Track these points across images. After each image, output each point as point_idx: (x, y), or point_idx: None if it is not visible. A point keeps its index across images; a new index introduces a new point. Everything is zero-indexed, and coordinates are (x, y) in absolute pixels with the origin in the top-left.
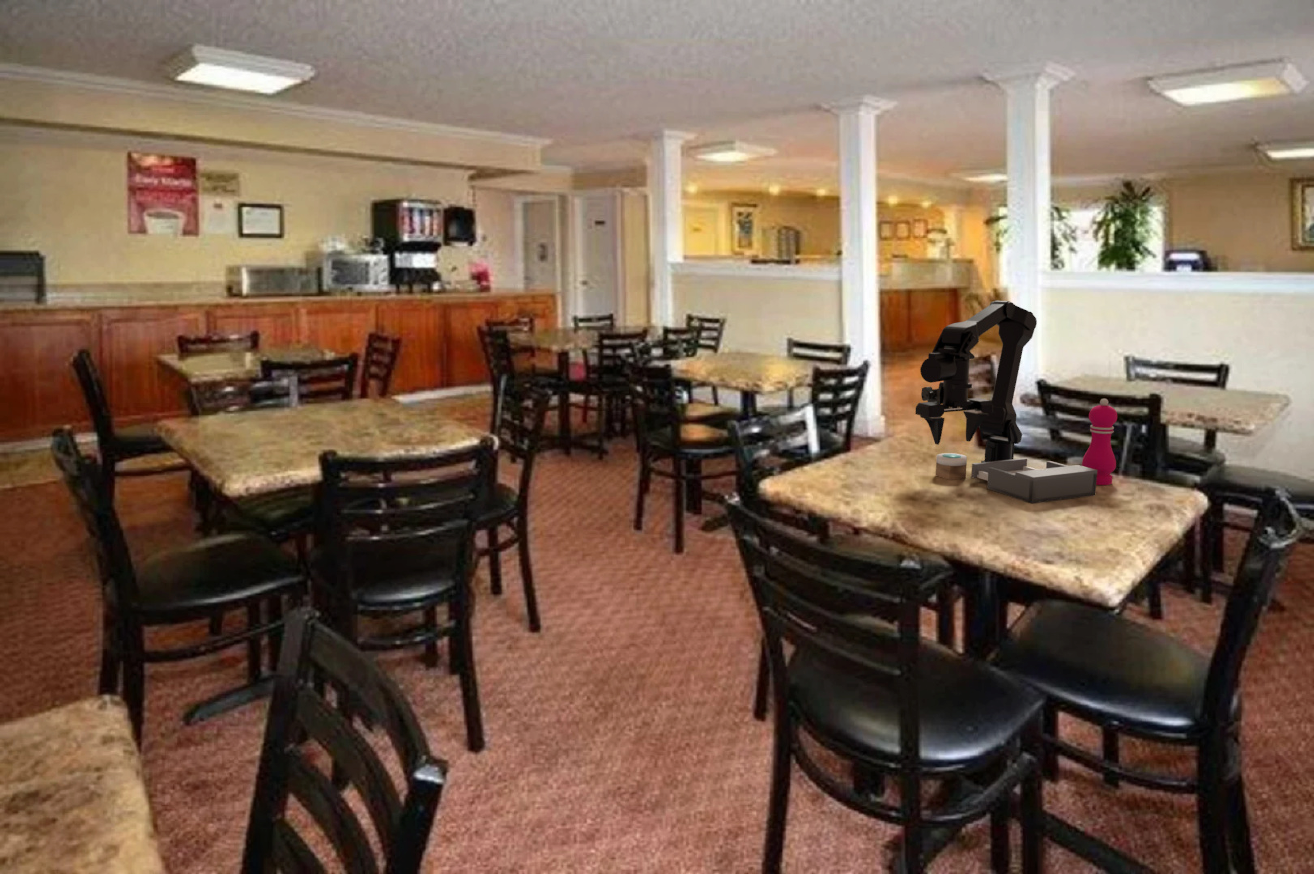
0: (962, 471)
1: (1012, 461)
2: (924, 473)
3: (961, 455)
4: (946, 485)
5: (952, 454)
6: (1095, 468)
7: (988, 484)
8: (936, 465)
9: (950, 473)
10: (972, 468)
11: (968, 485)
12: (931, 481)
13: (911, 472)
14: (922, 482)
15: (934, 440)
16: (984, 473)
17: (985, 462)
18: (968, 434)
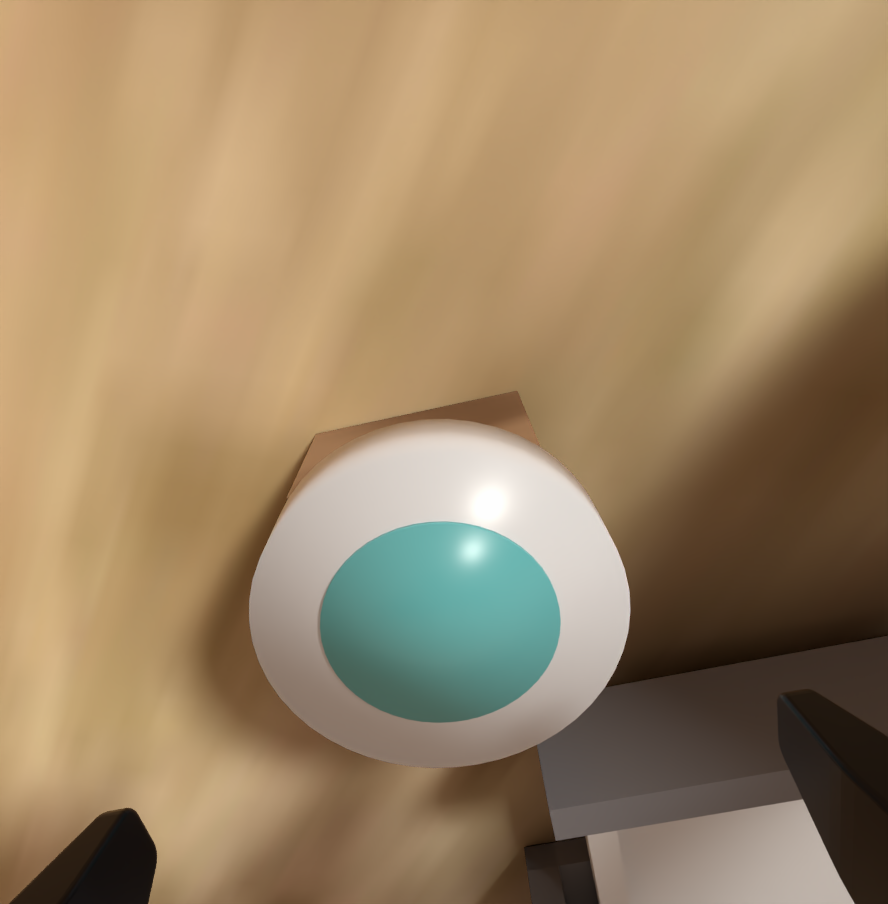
0: None
1: None
2: (233, 329)
3: (590, 606)
4: (276, 740)
5: (491, 562)
6: None
7: (530, 884)
8: (299, 481)
9: None
10: (542, 774)
11: None
12: (198, 621)
13: (102, 257)
14: (110, 639)
15: (57, 875)
16: (587, 838)
17: (712, 790)
18: (854, 848)
